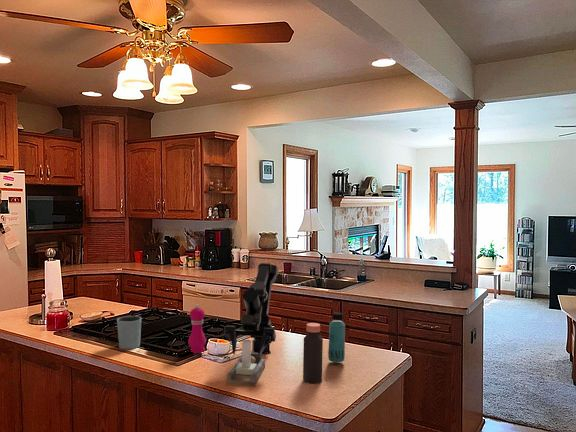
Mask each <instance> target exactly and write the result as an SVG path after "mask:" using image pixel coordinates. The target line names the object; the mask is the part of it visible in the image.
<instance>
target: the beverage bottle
mask: <svg viewBox="0 0 576 432" xmlns="http://www.w3.org/2000/svg"><path fill="white" fill-rule="evenodd" d="M343 318H344V317H343V313H342V312H338V311H335V312H332V318H331V319H332V321H330V323H329V324H328V325H329V328H328V329H329V330H328V350H327V351H328V352H327V357H328V361H330V362H332V363H342V362H344V361H345V359H346V358H345V353H346V339H345V338H346V337H345V336H346V324H345V322H344V321H342V320H343Z"/></svg>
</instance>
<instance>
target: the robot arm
mask: <svg viewBox="0 0 576 432" xmlns="http://www.w3.org/2000/svg"><path fill="white" fill-rule="evenodd" d="M278 275H279V267H278V266H277V265H276V264H272V263H270V262H269V263H268V262H260V263H259V264H258V265H257V273H256V276H255V280H254V283H252V284H251V285H249V288H248V289H247V290H245V291H244V292H243V294H242V299H243V302H244V305H245V308H246V312H245V314H241V317H240V318H241V319H240V324H241V328H242V329H237V327H236V325H225V327H224V328H223V334H224V336H225V338H226V340H228V341H229V342H231V349H232V354H233V355H235V353H236V351H237V350H236V349H237V342H238V339H237V338H238V336H249V337H250V339H252V338H253V340H251V351H252V352H253V353H258V356H260V355H261V356H262V355H263V354H271V350H270V345H271V344H272V343H274V342H276V338H277V336H276V335H277V334H276V330H275V327H273V326H272V322H271V320H270V317H269V311H270V310H269V308H270V301H271V295H272V287H273V284H274V283H275V282H276V281H277V276H278Z"/></svg>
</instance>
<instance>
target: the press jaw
mask: <svg viewBox="0 0 576 432" xmlns="http://www.w3.org/2000/svg"><path fill="white" fill-rule="evenodd" d="M241 343H242V344H241V347H242V348H241V358H242V363H239V364H238V366H237V367H236V374H243V375H252V374H253V372H254V371H255V369H256V367H257V364H252V363H251V352H252V340H250V339H244V340H242V341H241Z"/></svg>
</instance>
